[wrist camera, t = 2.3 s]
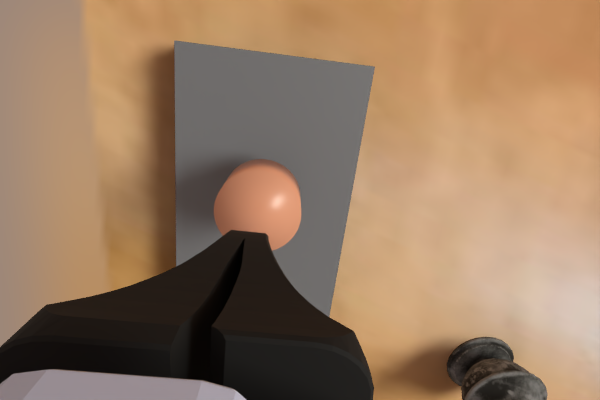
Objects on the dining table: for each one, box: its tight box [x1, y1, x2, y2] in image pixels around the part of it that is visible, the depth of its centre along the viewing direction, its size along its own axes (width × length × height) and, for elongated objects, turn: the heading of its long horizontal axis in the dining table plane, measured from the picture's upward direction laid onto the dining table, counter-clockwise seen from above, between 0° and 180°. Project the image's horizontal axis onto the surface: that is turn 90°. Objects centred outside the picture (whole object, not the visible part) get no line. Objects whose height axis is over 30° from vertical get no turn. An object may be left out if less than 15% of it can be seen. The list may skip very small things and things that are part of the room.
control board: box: [174, 41, 375, 317], centre depth 22 cm, size 24×10×2 cm, turn 173°
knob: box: [214, 159, 301, 251], centre depth 18 cm, size 4×4×5 cm
